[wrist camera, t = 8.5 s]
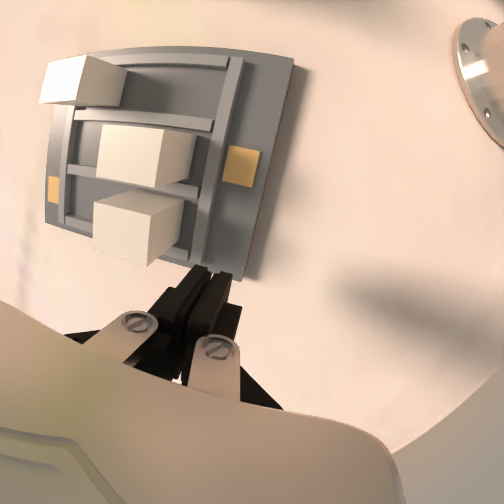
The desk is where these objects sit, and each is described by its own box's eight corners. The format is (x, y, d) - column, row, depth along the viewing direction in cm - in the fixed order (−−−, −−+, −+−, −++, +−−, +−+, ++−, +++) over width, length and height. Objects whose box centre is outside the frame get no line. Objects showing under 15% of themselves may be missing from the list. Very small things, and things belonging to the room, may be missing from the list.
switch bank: (293, 64, 15) (293, 54, 14) (243, 275, 21) (239, 287, 19) (74, 59, 17) (60, 56, 15) (53, 219, 22) (39, 224, 20)
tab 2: (197, 134, 17) (163, 129, 12) (188, 178, 18) (154, 187, 13) (145, 128, 17) (102, 124, 12) (138, 168, 18) (95, 176, 13)
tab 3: (185, 199, 18) (150, 215, 14) (178, 240, 19) (146, 266, 15) (136, 189, 19) (93, 201, 14) (132, 227, 20) (92, 249, 15)
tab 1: (128, 69, 16) (86, 54, 11) (119, 106, 17) (75, 99, 12) (90, 72, 16) (48, 62, 11) (82, 106, 17) (39, 103, 12)
